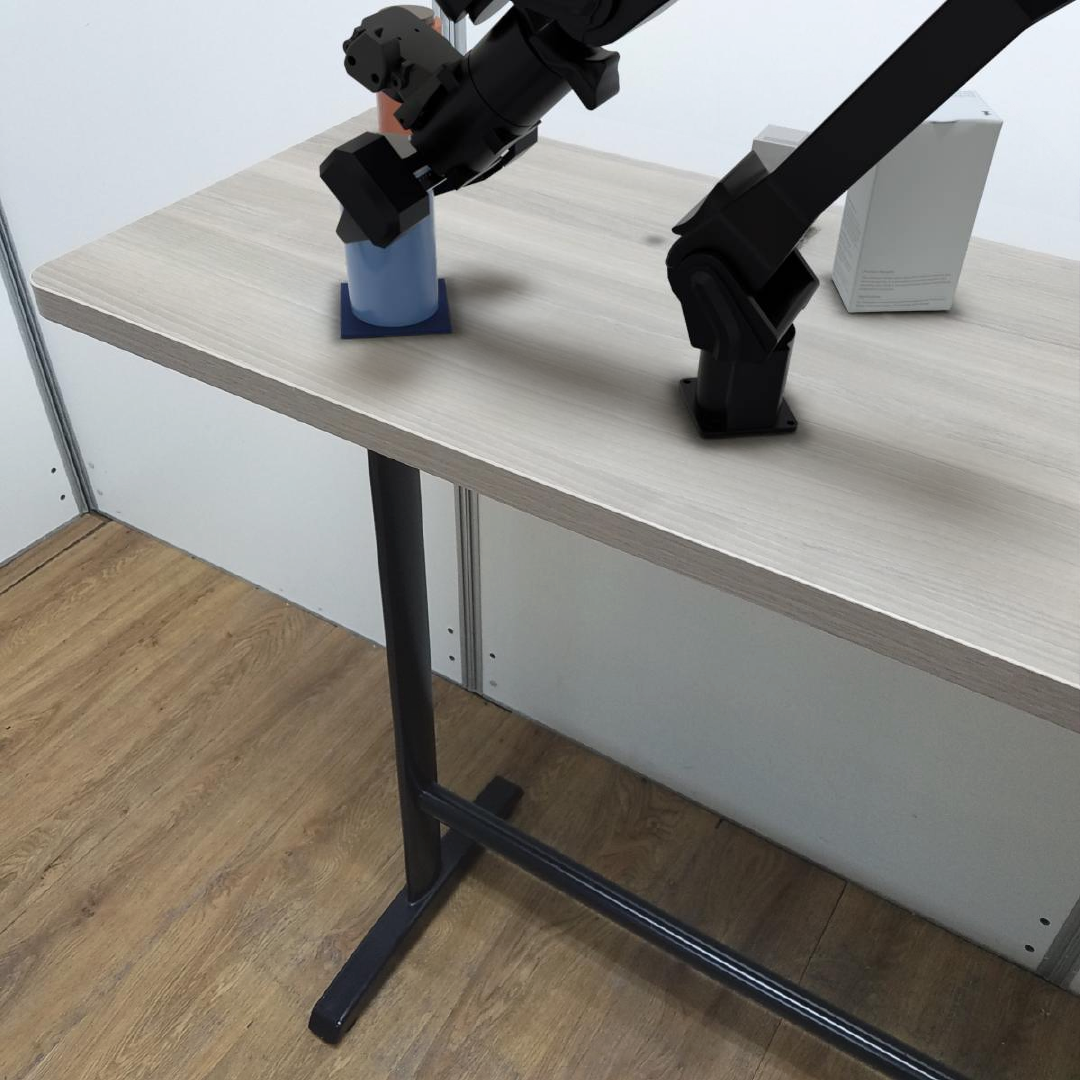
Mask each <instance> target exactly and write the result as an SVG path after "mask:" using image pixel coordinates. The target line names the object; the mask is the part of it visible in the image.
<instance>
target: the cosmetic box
mask: <svg viewBox="0 0 1080 1080" xmlns="http://www.w3.org/2000/svg"><path fill="white" fill-rule="evenodd" d="M1003 125H1004V119H1002V118H1001V116H999V114H998V113H997V112H996V111H995V110H994V108H993V107H991V106H990V105H989V104H988V102H986V101H985V99H984V98H983V97H982V96H981V94H980V93H979V91H977V90H976V89H959V90H958V91H957V92H956V93H955V94H953V95H952V96H951V97H950V98H949V99H948V100H947V101H946V102H945V103H943V104H942V105H941V106H940V107H939V108H938V109H937V110H936V111H935V112H933V113H932V114H931V115H930V116H929V117H928V118H927V119H926V120H925V121H923V122H922V123H921V124H920V125H919V126H918V127H917V128H916V129H915V130H913V131H912V132H911V133H910V134H909V135H908V136H907V137H906V138H905V139H903V140H902V141H901V142H900V143H899V144H898V145H897V146H896V147H895V148H893V149H892V150H891V151H890V152H889V153H888V154H887V155H886V156H885V157H883V158H882V159H881V160H880V161H879V162H878V163H877V164H876V165H875V166H873V167H872V168H871V169H870V170H869V171H868V172H867V173H866V174H865V175H863V176H862V177H861V178H860V179H859V180H858V181H857V182H856V183H855V184H853V185H852V186H851V187H850V188H849V189H848V190H847V191H846V196H845V202H844V207H843V212H842V218H841V223H840V227H839V233H838V239H837V244H836V250H835V255H834V260H833V265H832V270H831V271H832V272H831V278H832V281H833V283H834V286H835V287H836V289H837V292H838V293H839V296H840V298H841V300H842V303H843V304H844V307H845V308H846V309H845V310H846V311H847V312H848V313H868V312H869V313H873V312H874V313H876V312H877V313H878V312H879V313H880V312H913V311H914V312H915V311H917V312H918V311H950V310H951V308H952V305H953V302H954V299H955V295H956V291H957V288H958V283H959V280H960V277H961V274H962V269H963V266H964V262H965V258H966V255H967V251H968V247H969V243H970V240H971V236H972V234H973V229H974V225H975V222H976V219H977V215H978V211H979V208H980V204H981V201H982V198H983V195H984V191H985V187H986V183H987V181H988V176H989V172H990V169H991V166H992V163H993V158H994V156H995V151H996V147H997V144H998V140H999V137H1000V135H1001V130H1002V128H1003Z"/></svg>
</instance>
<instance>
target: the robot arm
mask: <svg viewBox="0 0 1080 1080" xmlns="http://www.w3.org/2000/svg"><path fill="white" fill-rule="evenodd" d="M1075 1H1077V0H945V1H943V3H942V4H940V5H939V6H938V7H937V8H936V10H934V11H933V12H932V13H931V14H930V15H929V16H928V17H927V18H926V19H925V20H924V21H923V22H922V23H921V24H920V25H919V26H918V27H917V28H916V29H915V30H914V31H913V32H912V33H911V34H910V35H909V36H908V37H907V38H906V39H905V40H904V41H903V42H902V43H901V44H900V45H898V47H897V48H895V50H894V51H892V53H891V54H890V55H889V56H887V58H886V59H885V60H884V61H883V62H882V63H881V64H880V65H878V66H877V68H875V69H874V71H872V72H871V73H870V75H868V76H867V77H866V78H865V79H864V80H863V81H862V82H861V83H860V84H859V85H858V86H857V87H856V88H855V89H854V90H853V91H852V92H851V93H849V95H848V96H847V97H846V98H845V99H844V100H843V101H842V102H841V103H840V104H839V105H838V106H837V107H836V108H835V109H833V110H832V111H831V113H829V115H827V117H826V118H825V119H824V120H823V121H822V122H821V123H819V125H818V126H816V128H815V129H814V130H813V131H811V132H812V133H811V134H810V135H809V136H808V137H807V138H806V139H805V140H804V141H803V142H802V143H801V144H800V145H799V146H798V147H797V148H795V149H794V150H793V151H792V152H791V153H789V154H788V155H786V156H785V157H783V158H781V159H780V160H778V161H776V162H775V163H773V164H771V165H769V166H768V167H765V166H764V164H763V163H762V161H761V160H760V158H759V157H758V155H757V154H756V152H755V151H754V150H750V151H749V152H748V153H746V154H745V156H744V157H742V159H741V160H740V161H739V162H737V163H736V165H734V166H733V167H732V168H731V169H730V170H729V171H728V172H727V173H726V174H724V176H722V178H721V179H719V180H718V181H717V182H716V184H715V185H714V187H712V189H711V190H710V191H709V192H708V193H707V194H706V195H705V196H704V197H703V198H702V199H701V200H700V201H699V202H698V203H697V204H695V206H693V207H692V208H691V209H690V210H689V211H688V212H687V213H686V214H685V215H684V216H683V217H682V218H681V219H680V220H679V221H678V222H677V223H676V224H675V225H674V226H673V227H672V228H671V232H672V233H673V234H675V235H677V236H680V237H678V238H677V240H675V242H673V244H672V245H671V247H670V248H669V250H668V251H667V255H666V258H665V261H664V264H665V266H666V277H667V281H668V284H669V286H670V289H671V291H672V293H673V294H674V296H675V297H676V298H677V300H678V301H679V303H680V306H681V310H682V314H683V319H684V323H685V327H686V331H687V336H688V340H689V343H690V346H691V347H692V348H694V349H697V350H700V352H699V360H698V367H697V374H696V376H695V377H684V378H681V379H679V383H678V384H679V385H678V389H679V390H680V392H681V395H682V397H683V399H684V402H685V404H686V407H687V409H688V411H689V414H690V416H691V419H692V420H693V423H694V426H695V428H696V430H697V433H698V435H699V436H700V437H702V438H704V439H714V438H715V439H716V438H717V439H718V438H729V437H731V438H732V437H744V436H745V437H746V436H747V437H748V436H760V435H761V436H762V435H777V434H791V433H795V432H797V431H798V427H799V421H798V420H797V418H796V416H795V415H794V413H793V411H792V409H791V407H790V406H789V404H788V402H787V399H786V398H785V396H784V395H785V389H786V385H787V379H788V374H789V370H790V365H791V360H792V359H791V358H792V354H793V350H794V349H793V348H794V344H795V339H796V335H797V334H796V333H797V331H796V327H795V324H794V322H795V320H796V318H797V317H798V316H799V314H800V313H801V312H802V311H803V310H805V308H806V307H807V306H808V304H809V302H811V299H812V298H813V296H814V295H815V293H816V292H817V290H818V289H819V287H820V285H821V281H820V279H819V277H818V276H817V275H816V274H815V273H816V272H814V271H813V269H812V268H811V266H810V265H809V262H807V260H806V259H805V258H804V256H803V255H802V253H801V252H800V250H799V249H798V247H797V246H798V244H799V243H800V242H801V241H802V239H803V238H804V237H805V236H806V234H807V233H808V231H809V230H810V229H811V227H812V226H813V225H814V224H815V222H816V221H817V220H818V218H819V217H820V215H821V214H822V213H824V212H825V211H826V210H827V209H828V208H829V207H830V206H831V205H832V204H834V203H835V202H836V201H837V200H838V199H839V198H840V197H842V195H844V194H845V193H847V190H848V189H849V188H850V187H851V186H852V185H853V184H855V183H856V182H857V181H858V180H859V179H860V178H861V177H862V176H863V175H865V174H866V173H867V172H868V171H869V170H870V169H871V168H872V167H873V166H875V165H876V164H877V163H878V162H879V161H880V160H881V159H882V158H883V157H885V156H886V155H887V154H888V153H889V152H890V151H891V150H892V149H893V148H895V147H896V146H897V145H898V144H899V143H900V142H901V141H902V140H903V139H905V138H906V137H907V136H908V135H909V134H910V133H911V132H912V131H913V130H915V129H916V128H917V127H918V126H919V125H920V124H921V123H922V122H923V121H925V120H926V119H927V118H928V117H929V116H930V115H931V114H932V113H933V112H935V111H936V110H937V109H938V108H939V107H940V106H941V105H942V104H943V103H945V102H946V101H947V100H948V99H949V98H950V97H951V96H952V95H953V94H955V93H956V92H957V91H958V90H961V89H962V88H963V87H964V86H965V85H966V84H967V83H968V82H969V81H970V80H972V79H973V78H974V77H975V76H976V75H977V74H978V73H979V72H980V71H982V70H983V68H985V67H986V66H987V65H988V64H990V62H991V61H993V59H994V58H996V57H997V56H998V55H999V54H1000V53H1001V52H1003V51H1004V50H1005V49H1006V48H1007V47H1008V46H1009V45H1010V44H1011V43H1012V42H1014V41H1015V40H1016V39H1017V38H1018V37H1019V36H1021V35H1022V33H1024V32H1025V31H1026V30H1028V29H1029V28H1031V27H1032V26H1034V25H1035V24H1037V23H1039V22H1040V21H1043V20H1044V19H1046V18H1048V17H1049V16H1051V15H1053V14H1054V13H1056V12H1059V10H1061V9H1064V8H1065V7H1067V6H1069V5H1070V4H1072V3H1074V2H1075ZM434 2H435V3H436V5H437V6H438V7H439V9H440V10H441V12H442V13H443V14H444V15H445V17H446V19H447V20H448V21H449V22H453V24H454V25H456V24H459V22H461V21H462V20H463V19H465V17H466V16H467V15H468V19H469V20H470V22H471V23H472V25H473V26H479V25H481V24H483V23H484V22H486V21H488V19H491V18H492V17H493V16H494V15H496V14H497V13H498V12H499V11H500V10H502V9H503V8H504V7H505V6H506V5H507V4H508V3H510V2H511V3H512V5H511V7H510V8H508V10H507V11H506V12H505V13H504V14H503V15H502V16H501V17H500V19H499V20H497V22H496V23H495V24H494V25H493V26H492V27H491V28H490V29H489V30H488V31H487V32H486V33H485V34H484V35H483V36H482V38H481V39H480V40H479V41H478V42H477V43H476V44H475V45H474V46H473V47H472V48H471V49H470V50H468V51H467V52H466V53H465V54H464V55H463V54H462V53H461V52H460V51H459V50H457V48H455V47H454V46H453V44H452V43H451V41H450V40H449V39H448V38H447V37H445V36H444V35H443V36H442V35H441V34H440V33H438V32H437V31H436V30H434V29H433V28H432V27H430V26H429V25H428V24H426V23H425V22H424V21H422V20H421V19H420V18H418V17H417V16H416V15H414V14H413V13H412V12H410V11H409V10H407V9H405V8H402V7H398V6H395V5H391V6H392V7H389V6H388V7H389V8H387V9H384V10H382V11H380V12H378V11H377V12H375V13H373V14H370V15H368V16H366V17H363V18H362V19H361V22H360V25H358V26H356V27H354V28H353V30H352V31H353V32H352V34H351V36H350V37H349V38H348V39H345V40H344V41H343V42H342V45H341V46H342V47H341V48H342V52H344V55H345V56H344V60H343V67H344V69H345V72H346V74H347V75H348V76H349V77H351V78H352V79H353V80H355V81H356V82H357V83H359V84H360V85H361V86H362V87H364V88H365V89H366V90H367V91H369V92H370V93H372V94H376V93H377V92H380V91H382V92H383V93H384V94H386V95H387V96H388V97H390V98H391V99H393V100H394V101H396V102H399V103H402V105H401V106H400V107H399V108H398V109H397V110H396V111H395V112H394V114H393V116H394V117H395V118H396V120H397V121H398V122H399V124H400V125H401V126H402V127H403V129H404V130H408V129H410V130H411V132H412V133H411V134H410V135H409V136H408V140H409V142H410V143H411V145H412V146H413V147H414V148H415V149H416V151H417V152H415V153H413V154H412V155H410V156H408V157H407V158H405V159H402V158H401V157H400V155H399V154H398V153H397V152H396V150H395V149H394V148H393V146H392V145H391V144H390V142H389V141H388V140H387V138H386V137H385V136H384V135H381V134H376V133H377V132H372V131H367V130H366V131H365V132H363V133H361V134H359V135H357V136H355V137H353V138H354V139H353V138H351V139H352V140H351V139H349V140H348V141H346V142H344V143H342V144H340V145H339V146H337V147H334V148H333V150H331V152H330V153H329V154H328V155H327V156H326V158H325V159H324V160H323V161H322V162H321V163H320V164H319V165H318V166H319V168H318V169H319V170H318V171H319V178H320V179H321V181H322V182H323V183H324V184H325V186H326V187H327V188H328V189H329V191H330V192H331V194H332V195H333V196H334V197H335V198H336V199H337V201H338V202H340V203H341V204H342V206H343V207H344V209H343V212H342V214H341V213H340V217H339V220H338V223H337V226H336V229H335V234H336V235H337V237H338V238H339V239H340V240H341V242H343V244H344V243H345V244H349V243H355V242H361V241H367V240H370V241H371V243H372V244H373V245H374V246H377V247H380V248H383V249H385V248H387V247H388V246H390V245H391V244H393V243H394V242H396V241H397V240H399V239H400V238H402V237H403V236H405V235H406V234H407V233H409V232H410V231H411V230H413V229H414V228H416V227H417V226H418V225H420V223H421V222H422V221H423V220H424V219H425V218H427V217H428V216H429V215H430V202H429V194H428V192H427V191H429V190H430V189H432V188H434V198H435V197H437V196H441V195H444V194H446V193H450V192H453V191H455V192H457V191H459V190H460V189H462V188H466V187H468V186H472V185H475V184H478V183H481V182H484V181H487V180H488V179H489V178H492V177H493V176H494V175H495V174H496V173H498V172H500V171H501V170H502V169H503V168H504V169H505V168H506V167H508V166H509V165H510V164H512V163H513V162H515V161H517V160H518V159H520V158H521V157H523V156H524V155H525V153H527V152H528V151H529V150H530V149H531V148H532V147H534V146H535V145H536V144H537V143H538V142H539V140H538V139H539V125H540V124H542V122H543V121H542V120H541V119H542V118H543V117H544V116H545V115H546V114H548V113H549V112H550V111H551V110H552V109H553V108H554V107H555V106H556V105H557V104H558V103H559V102H561V101H562V99H564V98H565V97H566V96H567V95H568V94H569V93H570V92H571V91H573V92H574V94H575V95H576V96H577V97H578V99H579V100H580V102H581V103H582V105H583V106H584V108H585V109H586V110H588V111H591V112H592V111H594V110H596V109H597V108H599V107H601V106H602V105H604V104H605V103H606V102H608V101H610V100H611V99H613V98H614V97H615V96H617V95H618V94H619V93H620V90H621V84H620V73H619V64H620V60H621V54H620V53H619V51H617V50H608V49H606V48H604V47H606V46H608V45H612V44H614V43H616V42H617V41H619V40H620V39H622V38H624V37H626V36H627V35H628V34H630V33H632V32H634V31H636V30H637V29H638V28H640V27H642V26H644V25H645V24H647V23H649V22H650V21H652V20H654V19H655V18H657V17H658V16H660V15H662V14H663V13H664V12H665V11H667V10H668V9H669V8H671V7H672V6H674V5H675V4H676V3H677V2H679V0H434ZM505 152H506V153H505ZM428 168H430V169H431V170H430V171H428V172H426V173H424V174H423V175H421V176H420V177H418V178H416V176H417V175H418V174H420V173H421V172H423V171H425V170H426V169H428Z"/></svg>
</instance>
